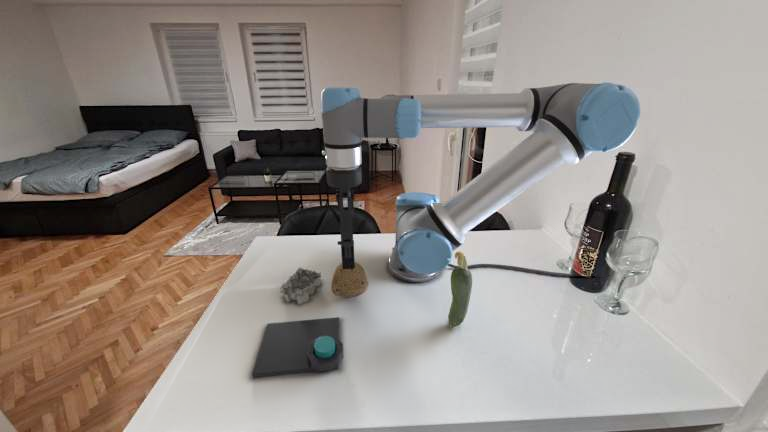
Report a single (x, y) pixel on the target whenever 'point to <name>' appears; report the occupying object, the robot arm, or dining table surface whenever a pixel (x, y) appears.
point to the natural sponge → (349, 281)
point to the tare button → (324, 347)
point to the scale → (296, 348)
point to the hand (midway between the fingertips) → (348, 252)
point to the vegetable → (460, 291)
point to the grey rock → (302, 279)
